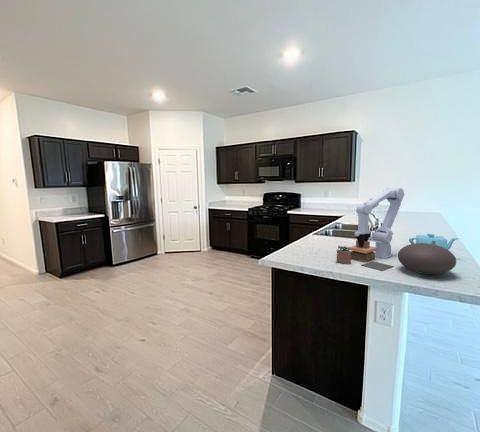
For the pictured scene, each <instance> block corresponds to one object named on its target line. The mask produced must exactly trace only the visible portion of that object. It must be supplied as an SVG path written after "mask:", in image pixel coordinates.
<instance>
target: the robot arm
mask: <svg viewBox="0 0 480 432" xmlns="http://www.w3.org/2000/svg"><path fill="white" fill-rule="evenodd" d="M404 197H405V191H404V189H403V188H401V187H399V188H398V187H392V188H391V187H386V188H385V189H383V191H382V192H381V193H379V195H377V196H376V197H369V199H368V200H367V201H365V202H363V203H361V204H359V205H358V206H357V207H356V209H355V210H356V213H357V219H358V221H357V222H358V223H357V230H356V231H355V232H354V236H355V238H356V240H358V244H359V247H363V244H364V241H369V239H370V237H371V235H372V239H373V240H374V242H375V247H376V248H377V251H374V252H375V258H381V259H388V258H391V257H393V255H392V254H391V252H392V245H391V242H392V240H393V236H394V235H393V234H394V232H393V231H392V230H391V229H392V226H393V224H394V222H395V219H396V217H397V214H398V212H399V210H400V207H401V206H402V201H403V200H404ZM384 200H386V201H387V202H388V203H389V206H388V209H387V211H386V214H385V216H384V219H383V221H382V224H381V226H380V227H377V228H376V230H375V231H374V232H373V233H372V230H370V229H369V224H370V223H369V222H370V221H369V219H370V218H369V217H370V215H371V213H372V211H373V210H374V209H376V208H378V206H379V204H380V203H381V202H383V201H384Z"/></svg>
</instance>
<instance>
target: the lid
mask: <svg viewBox="0 0 480 432" xmlns="http://www.w3.org/2000/svg"><path fill="white" fill-rule="evenodd" d="M370 243H371V242H370V241H369V240H368V241H364V244H363V247H359V244H358V240H357V239H356V240H355V245H351V246H348V247H349V251H356V252H361V253H366V254H367V253H370V252H375V251H377V248H376V246H370V245H371V244H370Z"/></svg>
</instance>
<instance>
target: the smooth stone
mask: <svg viewBox="0 0 480 432" xmlns="http://www.w3.org/2000/svg"><path fill="white" fill-rule="evenodd" d="M414 243H415V244H411V243H410V244H407V245H404V246H403V247H401V248H400V249H399V250H398V252H397V259H398V261H399V263H400V264H401V265H402V266H404V267H405V268H407V269H409V270H410V271H413V272H414V273H415V272H416V273H419V274H424V275H440V274H445V273H448V272H450V271H452V270H453V269H454V268H455V267H456V265H457V258H456V256H455V254H454V253H452V251H450V249H449V250H447V249H445V248H443V247H441V246H438V245H434V244H428V243H416V242H414Z"/></svg>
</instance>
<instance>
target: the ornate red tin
mask: <svg viewBox="0 0 480 432" xmlns="http://www.w3.org/2000/svg"><path fill="white" fill-rule="evenodd" d="M349 247H350V246H345V245H343V246H341V245H338V246H337V249H336V262H335V263H337V264H340V265H341V264H342V265H352V259H351V250H349Z"/></svg>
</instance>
